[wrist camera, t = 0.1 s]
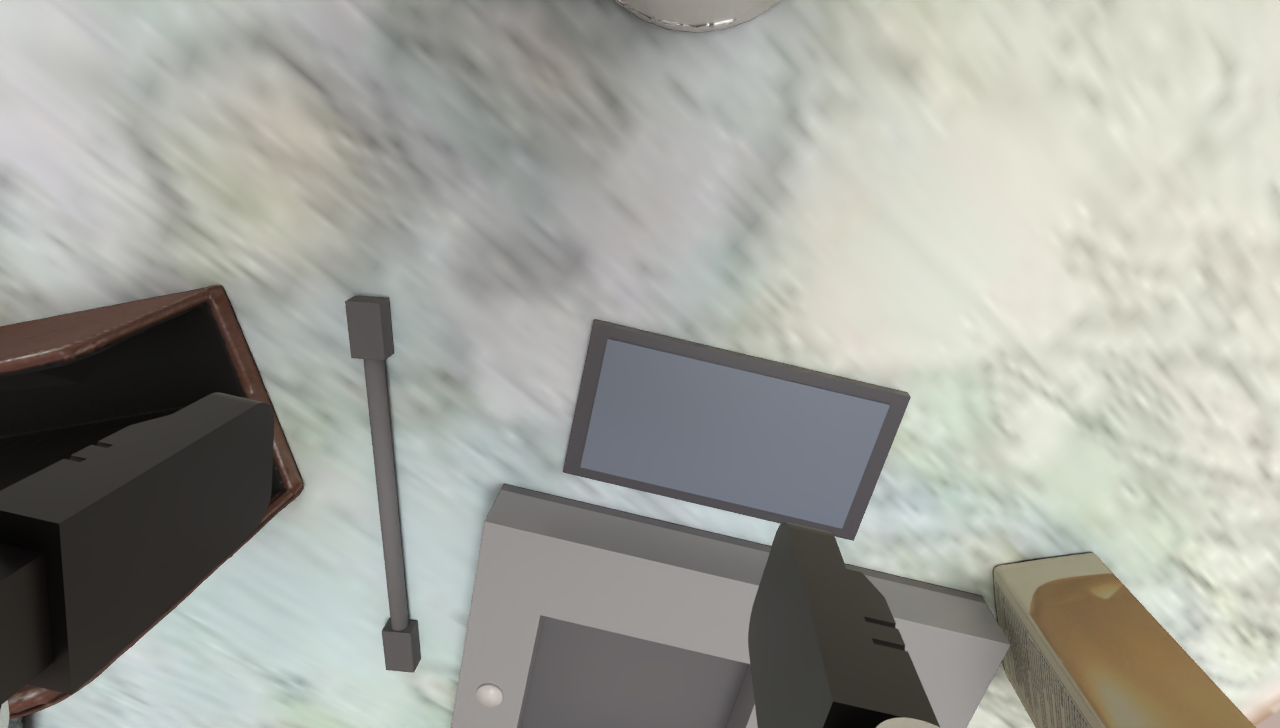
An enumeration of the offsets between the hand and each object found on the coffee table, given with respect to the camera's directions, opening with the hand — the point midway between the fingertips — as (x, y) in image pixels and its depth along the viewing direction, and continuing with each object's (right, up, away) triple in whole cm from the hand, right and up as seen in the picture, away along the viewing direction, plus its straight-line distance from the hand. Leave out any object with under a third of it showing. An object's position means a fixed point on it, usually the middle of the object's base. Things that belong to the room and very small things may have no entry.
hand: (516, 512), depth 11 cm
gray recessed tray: (+5, -14, +23) cm, 27 cm away
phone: (+6, 0, +19) cm, 20 cm away
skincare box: (+20, -9, +20) cm, 30 cm away
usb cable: (-9, -4, +20) cm, 23 cm away
